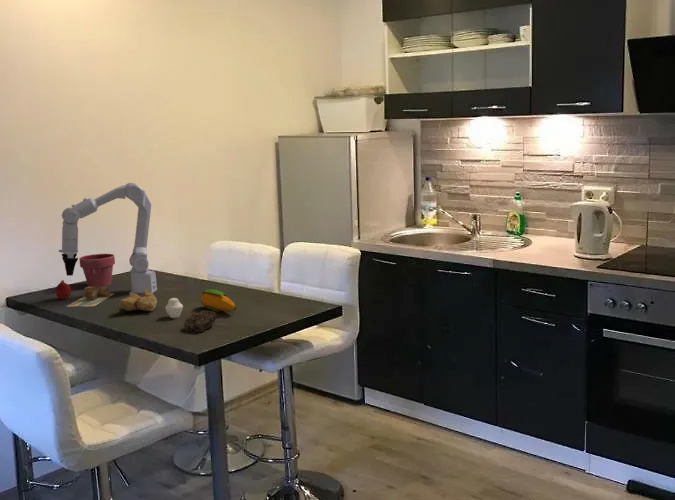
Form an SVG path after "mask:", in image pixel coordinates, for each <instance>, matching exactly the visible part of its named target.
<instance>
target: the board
mask: <svg viewBox="0 0 675 500" xmlns="http://www.w3.org/2000/svg"><path fill="white" fill-rule="evenodd" d="M112 296H114V293H110V295H109V296H108V297H99V298H97V299H95V300H94V301H86V297H85V295H83V296H82V297H80V298H78V299H76V300H75V301H73V302H71V303H70V304H68V305H67V307H95V306H97V305H98V304H100V303H102V302H104V301H105V300H107V299H108V298H110V297H112Z"/></svg>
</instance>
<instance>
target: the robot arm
mask: <svg viewBox="0 0 675 500" xmlns="http://www.w3.org/2000/svg"><path fill="white" fill-rule="evenodd" d="M126 198H127V199H129V200H130V201H132V202H133V203H134V204H135V206H136V207H137V208H138V210H137V219H136V227H135V239H134V244H133V249H132V253H131V255H130V257H129V265H130V266H131V269H130V270H129V271H130V272H129V273H130V281H131V282H130V284H131V291H130V292H128V294H129V295H130V294H143V293H144V289H147V290H150V292H151V293H153V294H154V293H155V292H156V291H158V285H157V276H156V275H157V274H156V272H155V271H154V270H150V269H149V265H150V264H149V259H148V248H147V246H148V238H149V229H150V221H151V220H150V219H151V212H152V203H151V201H150V199H149V197H148V195H147V193H146V191H145V190H144V189H143V188H142V187H141V186H140V185H138V184H136V183H134V182H128V183H126V184H125V185H119V186H118V187H115V188H114V189H112V190H109V191H108V192H106V193H104V194H102V195H100V196H98V197H96V198H94V199H93V198H91V197H88V198H86V197H84V198H83V199H82V201H81V202H78V203H76V204H71V207H66V208H65V209H63V211H62V213H61V218H62V220H63V221H62V227H61V229H62V230H61V233H62V234H61V249H58V252H59V253H61V257H62V260H63V263H64V269H65V272H66V276H74V272H75V271H74V270H75V267H76V264H77V262H78V260H79V258H78V257H77V255H78V253H79V250H78V249H79V245H78V243H79V242H78V241H79V227H78V222H79V220H80V219H83V218H86V217H87V216H90V215H92V214H93V213H94V214H95V213H96V212H97V211H98V208H99V207H101V206H103V205H106V204H107V203H110V202H111V201H115V200H116V199H120V200H121V199H122V200H125V199H126Z"/></svg>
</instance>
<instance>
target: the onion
mask: <svg viewBox="0 0 675 500" xmlns="http://www.w3.org/2000/svg"><path fill="white" fill-rule="evenodd" d="M54 292H55V295H56V297H58V299H61V300H66V299H68V298H69V297H70V296H71V294H72V288H71V286H70V285H69V284H68V283H66V282H65V280H60V281H59V283H58V284H57V285H56V287H55V290H54Z"/></svg>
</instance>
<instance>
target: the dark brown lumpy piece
mask: <svg viewBox="0 0 675 500" xmlns="http://www.w3.org/2000/svg"><path fill="white" fill-rule="evenodd" d="M217 319H218V315H217V313H216V311H213V310H211V311H210V310H201V311H200V312H194V313H191V315H189V317H186V319H185V320H184V321H183V325H184V329H185V331H186V332H188V333H195V332H197V333H201V332H204V331H206V330H207V329H208V328H211V327H213V325H214V323H215V322H216V320H217Z"/></svg>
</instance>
